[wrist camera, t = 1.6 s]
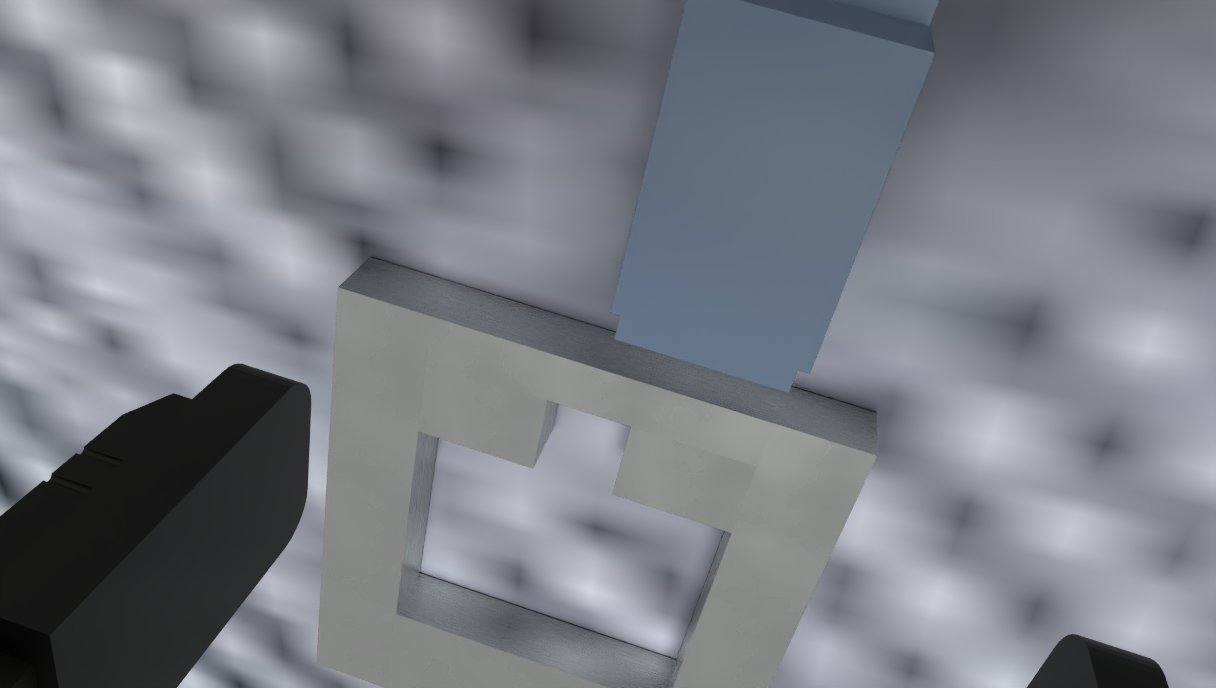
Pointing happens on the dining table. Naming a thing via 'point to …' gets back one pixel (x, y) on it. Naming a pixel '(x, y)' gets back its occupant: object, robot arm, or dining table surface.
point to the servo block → (766, 176)
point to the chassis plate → (517, 431)
